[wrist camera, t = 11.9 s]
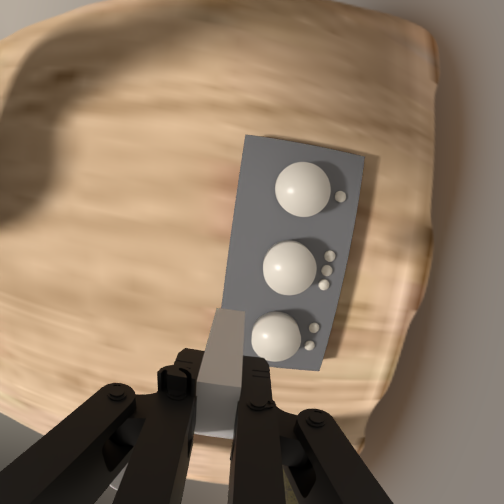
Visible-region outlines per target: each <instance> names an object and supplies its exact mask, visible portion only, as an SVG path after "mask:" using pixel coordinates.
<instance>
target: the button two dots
mask: <svg viewBox="0 0 504 504" xmlns="http://www.w3.org/2000/svg"><path fill="white" fill-rule="evenodd" d="M251 341H252V347H253V349H254V351H255V352H256V354H257V355H258V356H260V357H262V358H265V360H268V361H273V362H277V361H283V360H286V359H288V358H290V357H291V356H293V355H294V354H295V353H296V352H297V350H298V349H299V347H300V344H301V335H300V331H299V328H298V324H297V322H296V321H295V320H294V318H292V317H291V316H290V315H288V314H286V313H283V312H269V313H266V314H264V315H262V316H261V317H260V318H258V319H257V321H256V322H255V323H254V325H253V328H252V340H251Z"/></svg>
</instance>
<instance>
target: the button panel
mask: <svg viewBox="0 0 504 504" xmlns="http://www.w3.org/2000/svg"><path fill="white" fill-rule="evenodd" d="M364 159H365V157H364V156H360V155H355V154H351V153H347V152H342V151H338V150H333V149H328V148H323V147H318V146H313V145H308V144H303V143H297V142H292V141H286V140H280V139H273V138H267V137H260V136H253V135H245V141H244V148H243V154H242V161H241V167H240V174H239V181H238V188H237V195H236V202H235V209H234V216H233V223H232V230H231V237H230V245H229V252H228V260H227V267H226V275H225V283H224V291H223V299H222V307H221V308H222V309H229V310H237V311H245V323H244V343H243V356H252V357H260V356H258V355H257V354H256V352H255V351H254V349H253V347H252V341H251V340H252V328H253V325H254V323H255V322H256V321H257V319H258V318H260V317H261V316H262V315H264V314H266V313H269V312H283V313H286V314H288V315H290V316H291V317H292V318H294V320H295V321H296V322H297V324H298V328H299V331H300V335H301V344H300V347H299V349H298V350H297V352H296V353H295V354H294V355H293V356H291V357H290V358H288V359H286V360H283V361H277V362H273V361H268V360H266V361H267V362H268V364H269V367H277V368H287V369H298V370H310V371H320V367H321V364H322V360H323V357H324V353H325V350H326V346H327V343H328V339H329V335H330V332H331V328H332V324H333V320H334V316H335V312H336V308H337V304H338V300H339V296H340V292H341V287H342V283H343V279H344V274H345V270H346V265H347V260H348V255H349V250H350V245H351V240H352V235H353V230H354V224H355V218H356V213H357V207H358V201H359V194H360V188H361V181H362V174H363V167H364ZM297 162H309V163H312V164H315V165H316V166H318V167H319V168H321V169H322V170H323V171H324V172H325V174H326V175H327V177H328V179H329V182H330V187H331V193H330V198H329V201H328V203H327V204H326V206H325V207H324V208H323V209H322V210H321V211H320V212H319V213H317V214H315V215H313V216H309V217H299V216H295V215H292V214H290V213H289V212H287V211H286V210H285V209H284V208H282V206H281V205H280V204H279V202H278V200H277V198H276V195H275V183H276V180H277V178H278V176H279V174H280V173H281V172H282V171H283V170H284V169H285V168H286V167H288V166H289V165H291V164H293V163H297ZM285 240H293V241H297V242H299V243H301V244H303V245H304V246H305V247H307V249H308V250H309V251H310V252H311V253H312V255H313V257H314V259H315V261H316V267H317V271H316V276H315V279H314V281H313V282H312V284H311V285H310V286H309V287H308V288H307V289H306V290H305V291H303V292H301V293H299V294H296V295H282V294H279V293H277V292H275V291H274V290H273V289H271V288H270V287H269V285H268V284H267V282H266V280H265V278H264V274H263V260H264V257H265V255H266V253H267V251H268V250H269V249H270V248H271V247H272V246H273V245H274V244H276V243H278V242H281V241H285Z"/></svg>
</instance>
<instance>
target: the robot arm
mask: <svg viewBox="0 0 504 504" xmlns="http://www.w3.org/2000/svg"><path fill="white" fill-rule="evenodd" d="M244 323H245V311H237V310H229V309H222V308H217V309H216V312H215V316H214V320H213V323H212V327H211V330H210V334H209V338H208V341H207V345H206V349H205V351H201V350H194V349H188V348H185V349H183V350H182V351H181V352H179V353H178V355H177V358H176V361H175V363H174V365H170V366H165V367H163V368H161V369H160V370H159V371H158V372H157V378H158V391H157V393H153V394H146V395H136V394H135V392H134V390H133V389H132V388H131V387H129V386H128V385H125V384H122V383H111V384H107V385H105V386H104V387H102V388H101V389H100V390H98V391H97V392H96V393H95V394H94V395H92V396H91V397H90V398H89V399H88V400H86V401H85V402H84V403H83V404H82V405H80V406H79V407H78V408H77V409H76V410H74V411H73V412H72V413H71V414H70V415H68V416H67V417H66V418H65V419H64V420H62V421H61V422H60V423H59V424H58V425H56V426H55V427H54V428H53V429H52V430H50V431H49V432H48V433H47V434H46V435H44V436H43V437H42V438H41V439H40V440H38V441H37V442H36V443H35V444H33V445H32V446H31V447H30V448H29V449H27V450H26V451H25V452H24V453H23V454H21V455H20V456H19V457H18V458H16V459H15V460H14V461H13V462H12V463H10V465H8V466H7V467H6V468H4V469H3V470H2V471H1V472H0V504H94V503H95V502H96V501H97V500H98V498H99V497H100V496H101V495H102V493H103V492H104V491H105V490H106V489H107V488H108V486H109V485H110V484H111V483H112V482H113V480H114V479H115V478H116V477H117V476H118V474H119V473H120V472H121V471H122V469H123V468H124V467H125V466H126V465H127V463H128V465H127V467H126V470H125V472H124V475H123V477H122V480H121V482H120V485H119V488H118V490H117V493H116V496H115V498H114V501H113V503H112V504H181V501H182V496H183V491H184V486H185V481H186V476H187V471H188V466H189V461H190V456H191V451H192V446H193V434H199V435H205V436H212V437H220V438H228V439H233V443H232V449H231V455H230V460H231V463H230V477H229V491H228V504H286V498H285V487H284V477H283V469H284V472H285V474H286V476H287V478H288V481H289V483H290V485H291V487H292V490H293V492H294V494H295V496H296V498H297V501H298V503H299V504H393V502H392V501H391V500H390V498H389V497H388V496H387V494H386V493H385V491H384V490H383V488H382V487H381V486H380V484H379V483H378V481H377V480H376V479H375V478H374V476H373V474H372V473H371V472H370V470H369V469H368V467H367V466H366V465H365V463H364V462H363V460H362V459H361V458H360V456H359V455H358V453H357V452H356V450H355V449H354V448H353V446H352V445H351V443H350V442H349V440H348V439H347V438H346V436H345V435H344V433H343V432H342V430H341V429H340V427H339V426H338V425H337V423H336V422H335V420H334V419H333V417H332V416H331V415H330V414H329V413H327V412H325V411H323V410H319V409H306V410H303V411H302V412H300V413H299V414H298V415H294V414H290V413H287V412H284V411H282V410H281V409H279V408H278V407H277V406H276V404H275V402H274V401H273V400H272V390H271V380H270V369H269V364H268V362H267V361H266V360H265V358H262V357H252V356H243V343H244Z"/></svg>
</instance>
